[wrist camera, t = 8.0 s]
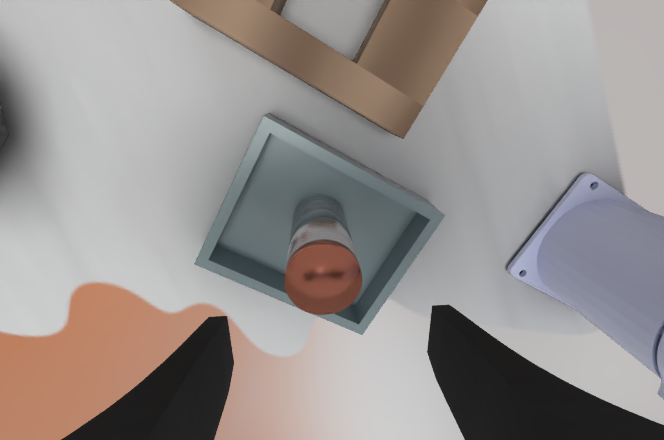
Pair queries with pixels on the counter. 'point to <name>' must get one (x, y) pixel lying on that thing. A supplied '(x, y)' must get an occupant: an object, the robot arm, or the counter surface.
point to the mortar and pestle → (2, 129)
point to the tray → (278, 207)
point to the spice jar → (321, 258)
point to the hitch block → (371, 60)
